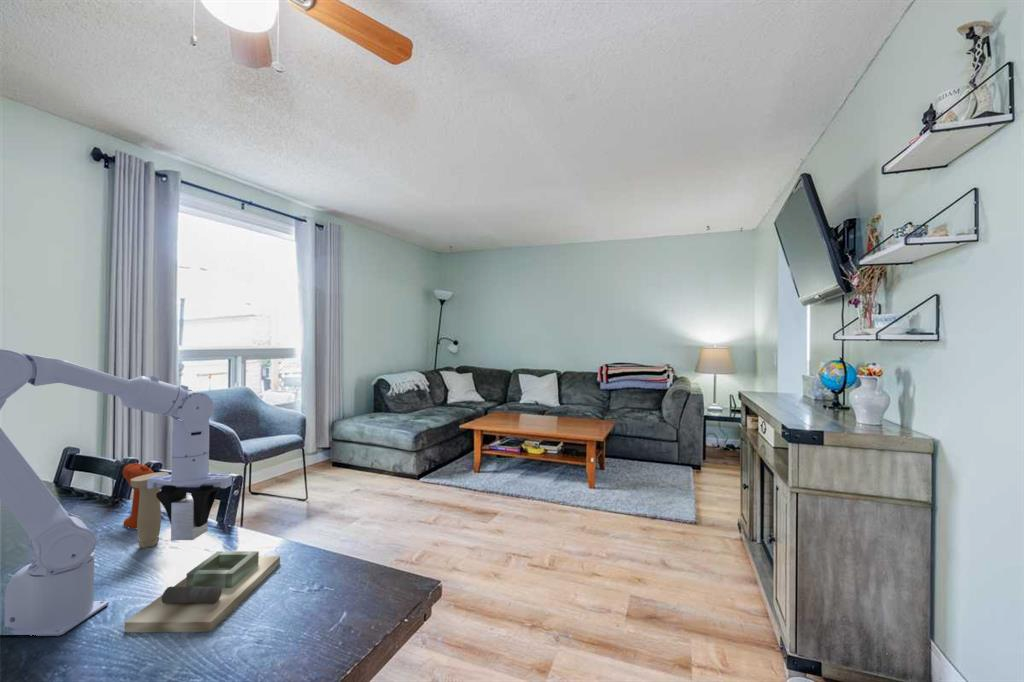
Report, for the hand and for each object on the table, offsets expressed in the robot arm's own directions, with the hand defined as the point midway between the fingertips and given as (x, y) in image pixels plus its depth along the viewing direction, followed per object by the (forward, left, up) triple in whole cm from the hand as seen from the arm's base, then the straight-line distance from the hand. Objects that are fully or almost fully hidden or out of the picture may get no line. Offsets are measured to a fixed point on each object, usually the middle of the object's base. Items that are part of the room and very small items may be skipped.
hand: (189, 524), depth 80 cm
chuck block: (+9, -6, -9) cm, 14 cm away
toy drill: (-32, +25, -10) cm, 42 cm away
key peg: (0, 0, -2) cm, 2 cm away
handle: (-17, +12, -10) cm, 23 cm away
